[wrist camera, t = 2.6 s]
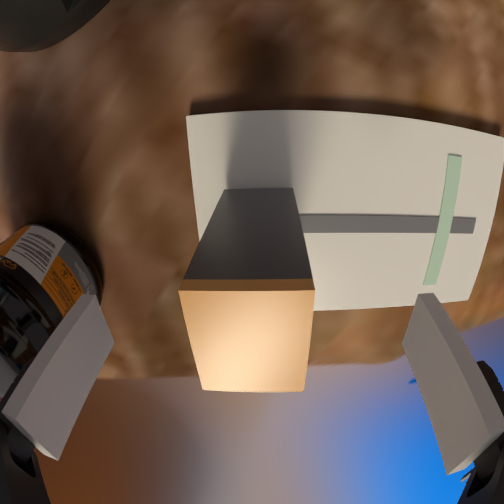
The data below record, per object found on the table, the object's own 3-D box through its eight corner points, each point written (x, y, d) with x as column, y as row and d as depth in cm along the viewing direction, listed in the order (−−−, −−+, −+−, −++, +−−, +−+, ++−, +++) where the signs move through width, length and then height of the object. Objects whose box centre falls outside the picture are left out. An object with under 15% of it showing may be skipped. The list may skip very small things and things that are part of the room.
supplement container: (69, 196, 20) (-43, 283, 9) (128, 306, 24) (69, 421, 14) (4, 235, 22) (-76, 308, 11) (56, 321, 26) (0, 406, 16)
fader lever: (224, 189, 18) (178, 290, 9) (292, 187, 17) (315, 290, 9) (230, 263, 20) (203, 389, 11) (291, 262, 20) (303, 391, 11)
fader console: (189, 115, 17) (185, 116, 16) (499, 136, 15) (507, 138, 14) (212, 303, 24) (209, 312, 23) (463, 294, 22) (468, 300, 21)
